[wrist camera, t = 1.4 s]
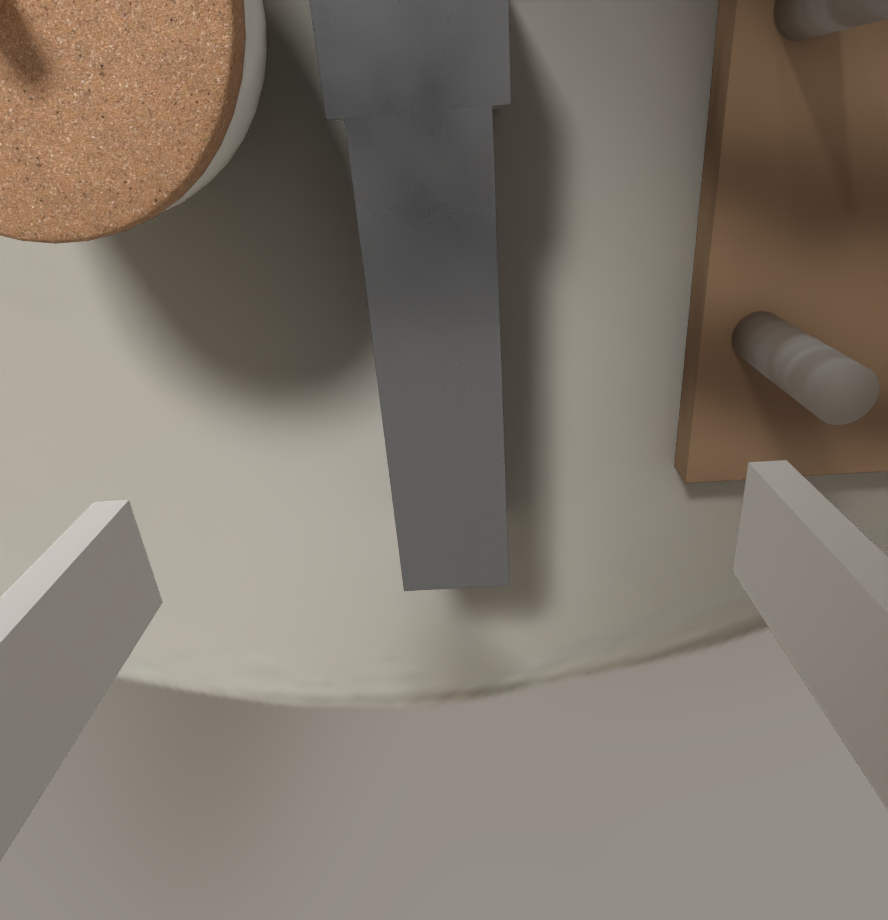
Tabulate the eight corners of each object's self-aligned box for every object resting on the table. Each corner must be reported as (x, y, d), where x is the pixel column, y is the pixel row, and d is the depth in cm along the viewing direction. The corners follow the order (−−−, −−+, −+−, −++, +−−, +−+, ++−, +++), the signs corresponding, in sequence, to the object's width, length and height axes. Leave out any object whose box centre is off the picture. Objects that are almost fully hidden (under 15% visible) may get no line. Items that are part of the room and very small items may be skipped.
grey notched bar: (333, -23, 20) (300, -66, 16) (493, -38, 20) (506, -86, 16) (399, 521, 29) (391, 591, 25) (511, 514, 29) (522, 584, 25)
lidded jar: (181, 273, 24) (40, 349, 16) (-97, 33, 21) (-457, -30, 13) (373, 33, 21) (321, -32, 13) (78, -301, 18) (-262, -694, 9)
